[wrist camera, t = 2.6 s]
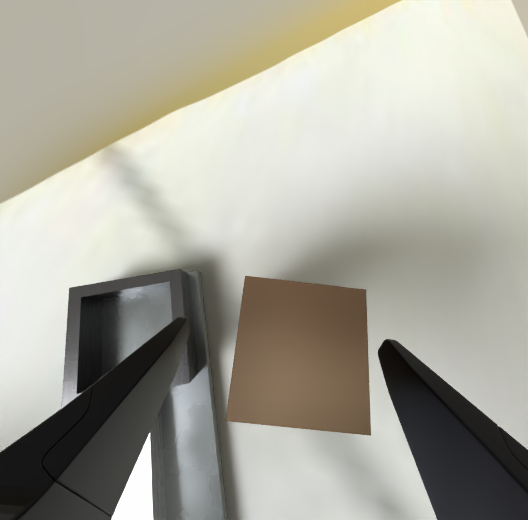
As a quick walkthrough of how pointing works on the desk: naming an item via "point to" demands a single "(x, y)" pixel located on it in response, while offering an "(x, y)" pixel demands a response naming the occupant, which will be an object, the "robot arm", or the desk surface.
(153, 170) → the desk surface
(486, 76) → the desk surface
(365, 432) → the brown tall block
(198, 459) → the rail
